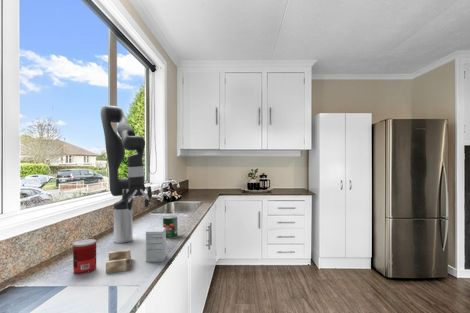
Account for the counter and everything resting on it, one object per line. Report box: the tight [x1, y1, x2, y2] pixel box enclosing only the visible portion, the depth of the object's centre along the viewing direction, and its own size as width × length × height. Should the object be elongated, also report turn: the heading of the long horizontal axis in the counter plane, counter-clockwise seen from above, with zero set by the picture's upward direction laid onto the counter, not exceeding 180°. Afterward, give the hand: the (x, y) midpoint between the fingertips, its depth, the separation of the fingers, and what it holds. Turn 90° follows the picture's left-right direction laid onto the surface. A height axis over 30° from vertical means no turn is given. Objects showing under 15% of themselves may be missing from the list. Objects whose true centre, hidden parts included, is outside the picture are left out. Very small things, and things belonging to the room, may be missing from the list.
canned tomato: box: [162, 215, 179, 240], centre depth 154 cm, size 8×8×11 cm
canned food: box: [72, 238, 97, 275], centre depth 108 cm, size 8×8×11 cm
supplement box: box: [145, 226, 167, 263], centre depth 119 cm, size 7×7×13 cm
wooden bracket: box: [105, 249, 132, 274], centre depth 112 cm, size 8×13×4 cm, turn 20°
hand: (138, 208), depth 138 cm, fingers open, 8 cm apart
